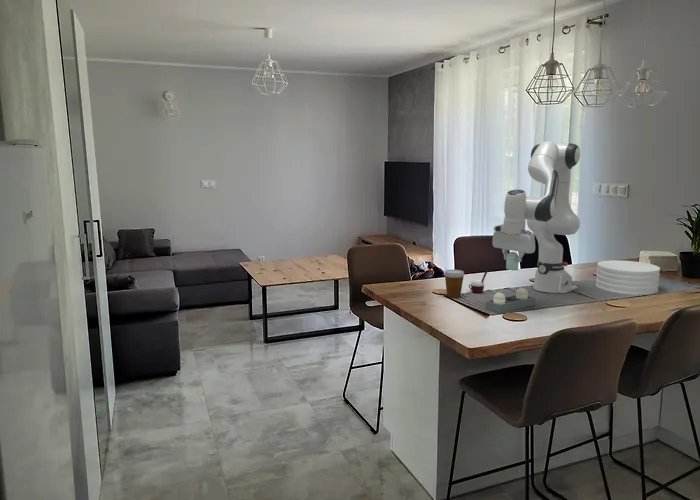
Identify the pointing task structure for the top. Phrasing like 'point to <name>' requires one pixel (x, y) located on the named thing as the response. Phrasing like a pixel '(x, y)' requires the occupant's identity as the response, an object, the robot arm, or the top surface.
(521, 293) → the inner cream egg
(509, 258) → the blue egg
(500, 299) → the outer cream egg
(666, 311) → the top surface
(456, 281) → the disposable coffee cup
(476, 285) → the cocoa
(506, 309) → the egg crate
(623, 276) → the plate stack
